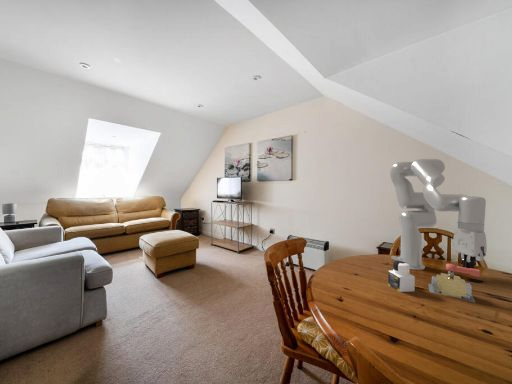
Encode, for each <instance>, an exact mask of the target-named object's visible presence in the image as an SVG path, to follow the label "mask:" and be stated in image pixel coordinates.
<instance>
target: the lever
mask: <svg viewBox="0 0 512 384" xmlns="http://www.w3.org/2000/svg"><path fill="white" fill-rule="evenodd" d="M445 270H446V271H447V272H448V271H452V272H454V273H455V272H457V273H463V274H467V275H469V276H473V277H480V275H481V274H480V269H477V268H474V269H473V268H465V267H462V266H459V265H456V264H453V263H445Z"/></svg>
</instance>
